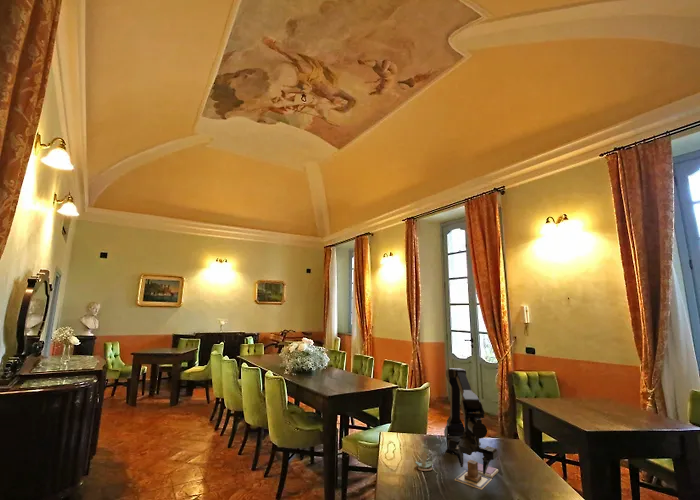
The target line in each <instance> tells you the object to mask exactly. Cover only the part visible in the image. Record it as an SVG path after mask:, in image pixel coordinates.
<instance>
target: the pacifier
mask: <svg viewBox="0 0 700 500" xmlns="http://www.w3.org/2000/svg"><path fill="white" fill-rule="evenodd" d="M427 454H428V453H426V452H425V451H422V452H421V453H420V454H419V455H420V457H419V458H420V459H421V462H418V461H415V464H416V465H418V467H417V470H419V471H422V472H423V471H424V472H431V471H432V470H433V468H434V467H432V466H433V461H431V460H428V461H427V459H428V455H427Z"/></svg>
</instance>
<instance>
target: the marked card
mask: <svg viewBox="0 0 700 500" xmlns="http://www.w3.org/2000/svg"><path fill="white" fill-rule="evenodd" d="M466 473H468V470H465V469H464V471H462V472H461V474H459V475H458V476H456V478H454V481H455V482H459V483H461V484H464V485H467V486H469V487H472V488H475V489H478V490H481V491H482V490H484V488H486V486H487V485H488V484H490V482H491V481H492V478H490V477H487V476H484V475H481V474H480V475H481V480H480V481H479V482H478V483H474V482H471V481H468V480H465V479H464V475H465V474H466Z"/></svg>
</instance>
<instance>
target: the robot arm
mask: <svg viewBox="0 0 700 500" xmlns="http://www.w3.org/2000/svg"><path fill="white" fill-rule="evenodd" d="M445 378H446V380H447V382H448V384H449V385H450V386H449V388H450V389H449V390H450V391H449V394H450V395H449V398H450V399H449V400H450V401H449V403H450V406H449V407H450V409H449V414H450V415H449V417H448V418H447V420H446V425H445V427H444V431H443V433H444V434H443V435H444V437H445V439H446V449H445V452H447V453H449V454H453V455H456V456H457V457H456V458H457V460H458V462H459V465H460V467H461V468H463V467H464V454H465V455H467V456H471V455H472V454H473V453H479V454H482V456H483V457H482V458H481V459H482V464H483V474H484V475H485V473H486V470H487V467H488V466H489V465H490V462H491V461H494V460H495V459H496V458H498V455H499V454H498V453H499V451H498V450H497V448H495V447H492V446H489V445H488V446H486V447H481V443H482V442H481V441H480V439H484V438H485V437H486V436H487V434H488V429H487V426H486V425H485V424H484V423H483V422H482V419H485V411H484V410H485V409H484V407H483V403H482V402H481V400H480V399H479V397H478V395H477V394H476V393H474V392H473V389H472V387H471V385H470V382H469V379H468V377H467V371H466V369H464V368H461V367H448V368H447V369H446V370H445ZM461 411H462V414H463V421H462V419H461ZM484 475H483V476H484Z"/></svg>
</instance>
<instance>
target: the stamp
mask: <svg viewBox="0 0 700 500" xmlns="http://www.w3.org/2000/svg"><path fill="white" fill-rule="evenodd" d="M478 463H479V462H478V461H476V460H473V459H469V460H468V461H467V471H468V473H466V474H465V475H464V479H465V480H468V481H471V482H474V483H478V482H479V481H480V480H481V474H478Z"/></svg>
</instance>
